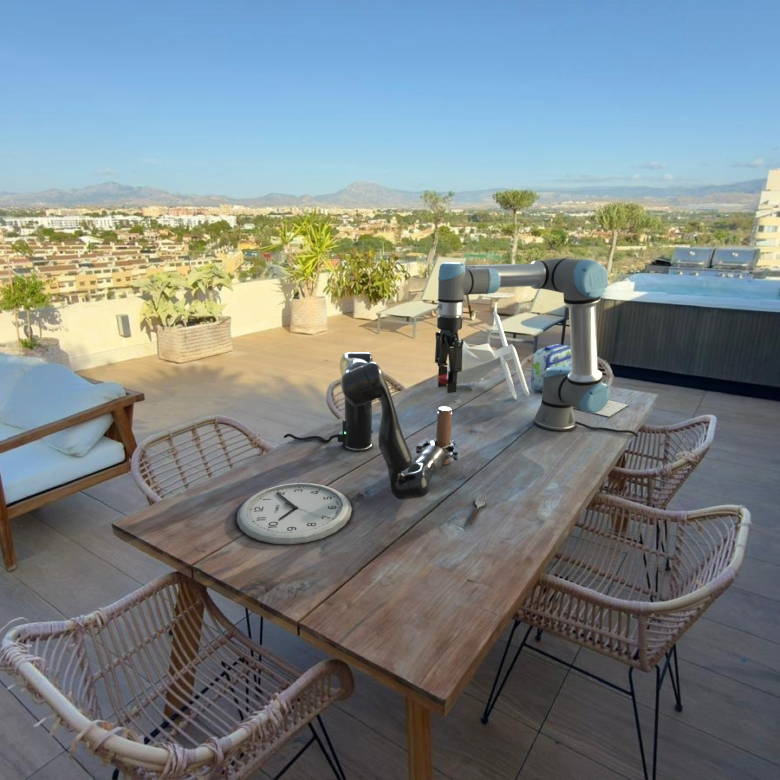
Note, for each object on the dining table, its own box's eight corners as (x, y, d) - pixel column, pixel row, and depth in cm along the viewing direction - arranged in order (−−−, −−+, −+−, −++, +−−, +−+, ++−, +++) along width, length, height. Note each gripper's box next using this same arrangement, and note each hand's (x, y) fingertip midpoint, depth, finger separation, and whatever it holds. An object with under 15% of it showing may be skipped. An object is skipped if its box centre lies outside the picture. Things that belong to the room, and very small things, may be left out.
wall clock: (352, 536, 126) (224, 540, 123) (352, 542, 126) (225, 546, 123) (351, 478, 154) (247, 481, 151) (351, 483, 155) (247, 486, 152)
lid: (440, 378, 166) (440, 373, 166) (457, 379, 164) (458, 375, 164) (436, 383, 161) (436, 378, 160) (454, 384, 159) (454, 379, 159)
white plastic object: (461, 429, 252) (437, 405, 227) (444, 352, 274) (420, 323, 250) (535, 404, 240) (518, 377, 215) (510, 326, 262) (492, 293, 237)
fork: (465, 526, 134) (465, 519, 133) (477, 497, 148) (477, 491, 147) (475, 528, 133) (476, 521, 132) (486, 499, 147) (487, 492, 147)
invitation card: (608, 416, 214) (573, 407, 224) (608, 416, 214) (573, 408, 224) (628, 404, 229) (594, 396, 238) (628, 405, 229) (594, 397, 238)
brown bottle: (445, 466, 168) (448, 412, 162) (432, 462, 170) (435, 409, 164) (451, 460, 171) (454, 407, 166) (438, 457, 174) (441, 405, 168)
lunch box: (547, 396, 238) (552, 351, 232) (526, 391, 246) (531, 347, 239) (574, 385, 256) (579, 343, 250) (554, 380, 263) (559, 340, 257)
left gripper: (453, 454, 152) (467, 434, 168) (407, 446, 158) (425, 427, 173) (451, 477, 155) (466, 455, 170) (406, 468, 160) (424, 448, 175)
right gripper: (425, 311, 163) (423, 382, 170) (454, 321, 147) (450, 399, 154) (446, 310, 166) (443, 380, 173) (477, 320, 150) (472, 396, 157)
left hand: (445, 441), depth 171 cm, fingers closed on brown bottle, 4 cm apart
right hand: (446, 389), depth 163 cm, fingers closed on lid, 6 cm apart
